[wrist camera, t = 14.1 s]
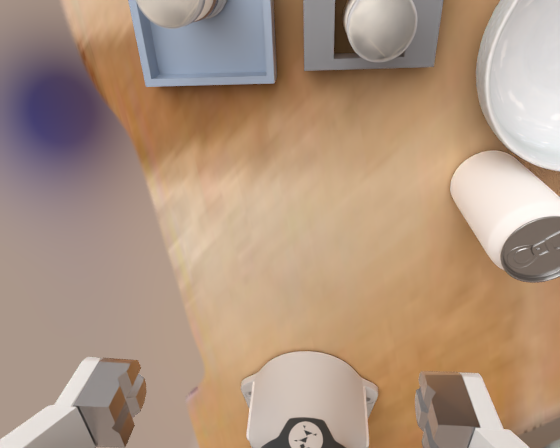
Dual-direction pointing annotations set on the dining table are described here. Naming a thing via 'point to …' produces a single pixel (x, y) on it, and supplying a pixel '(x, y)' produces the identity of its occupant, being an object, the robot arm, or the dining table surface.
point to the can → (510, 214)
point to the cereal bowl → (523, 79)
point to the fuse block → (372, 34)
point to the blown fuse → (179, 11)
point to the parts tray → (210, 47)
